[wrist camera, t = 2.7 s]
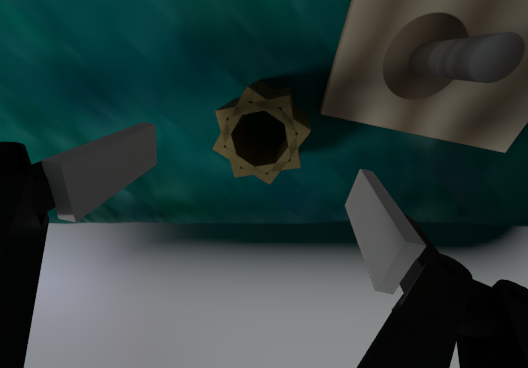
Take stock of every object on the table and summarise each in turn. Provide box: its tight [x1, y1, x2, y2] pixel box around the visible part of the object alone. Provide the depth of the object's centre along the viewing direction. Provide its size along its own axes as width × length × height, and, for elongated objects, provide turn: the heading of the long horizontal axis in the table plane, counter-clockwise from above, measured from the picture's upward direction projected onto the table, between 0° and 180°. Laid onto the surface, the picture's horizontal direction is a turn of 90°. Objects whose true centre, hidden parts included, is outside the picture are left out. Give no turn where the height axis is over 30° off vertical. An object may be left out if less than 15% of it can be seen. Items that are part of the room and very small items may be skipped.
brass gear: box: [212, 80, 311, 185], centre depth 22 cm, size 8×8×7 cm
